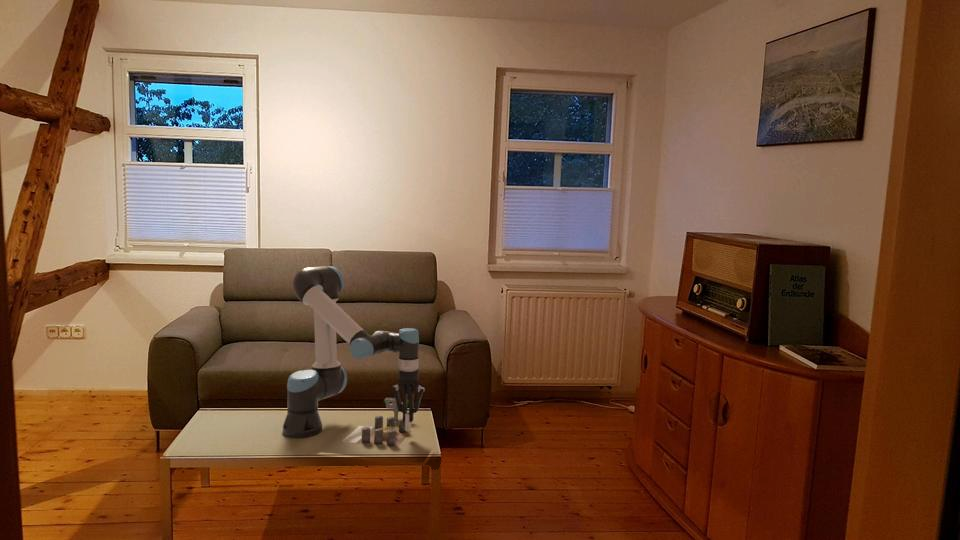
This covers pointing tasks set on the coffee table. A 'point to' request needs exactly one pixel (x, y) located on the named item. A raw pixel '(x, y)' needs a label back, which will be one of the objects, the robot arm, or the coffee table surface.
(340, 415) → the coffee table surface
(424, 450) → the coffee table surface
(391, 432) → the board
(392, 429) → the star-shaped block
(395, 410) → the mechanical component
